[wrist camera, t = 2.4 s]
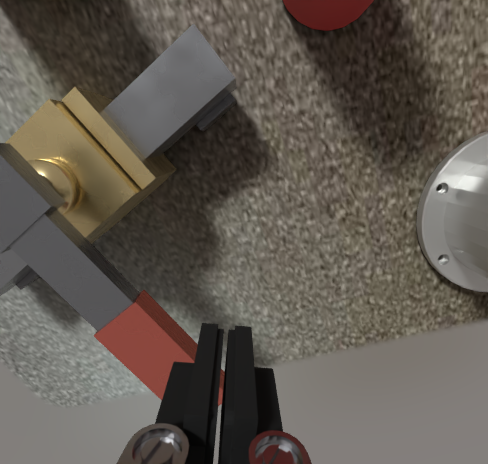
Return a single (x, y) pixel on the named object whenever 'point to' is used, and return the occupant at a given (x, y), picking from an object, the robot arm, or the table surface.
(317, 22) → the beer can
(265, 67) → the table surface
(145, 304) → the lever
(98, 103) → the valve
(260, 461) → the robot arm
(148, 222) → the table surface
